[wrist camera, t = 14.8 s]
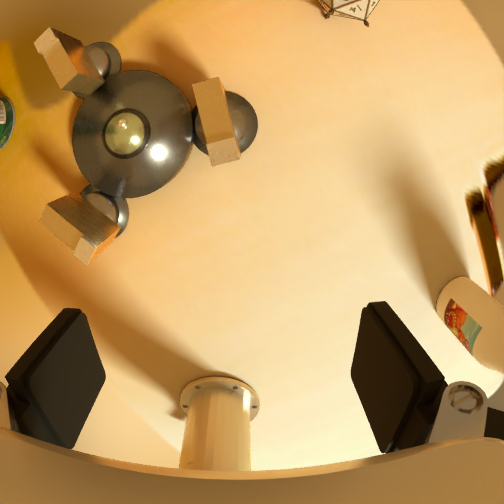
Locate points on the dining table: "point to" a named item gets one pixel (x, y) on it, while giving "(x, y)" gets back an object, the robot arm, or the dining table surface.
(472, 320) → the milk bottle
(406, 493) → the robot arm
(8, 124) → the canned tomato
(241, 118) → the knob
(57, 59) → the knob
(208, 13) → the dining table surface
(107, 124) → the plate
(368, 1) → the game die
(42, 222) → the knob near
